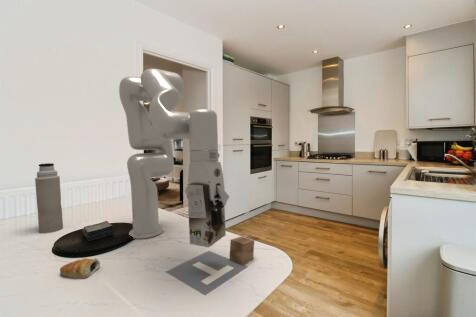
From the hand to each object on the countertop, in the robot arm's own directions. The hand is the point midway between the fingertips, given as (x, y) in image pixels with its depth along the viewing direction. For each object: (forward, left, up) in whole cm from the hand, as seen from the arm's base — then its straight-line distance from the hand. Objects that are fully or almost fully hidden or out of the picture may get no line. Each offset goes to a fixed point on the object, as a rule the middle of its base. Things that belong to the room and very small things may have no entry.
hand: (206, 221), depth 65 cm
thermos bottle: (-76, -19, -14) cm, 80 cm away
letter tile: (0, 0, -14) cm, 14 cm away
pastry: (-27, -22, -14) cm, 38 cm away
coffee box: (0, +1, -5) cm, 6 cm away
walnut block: (+4, +10, -14) cm, 17 cm away
